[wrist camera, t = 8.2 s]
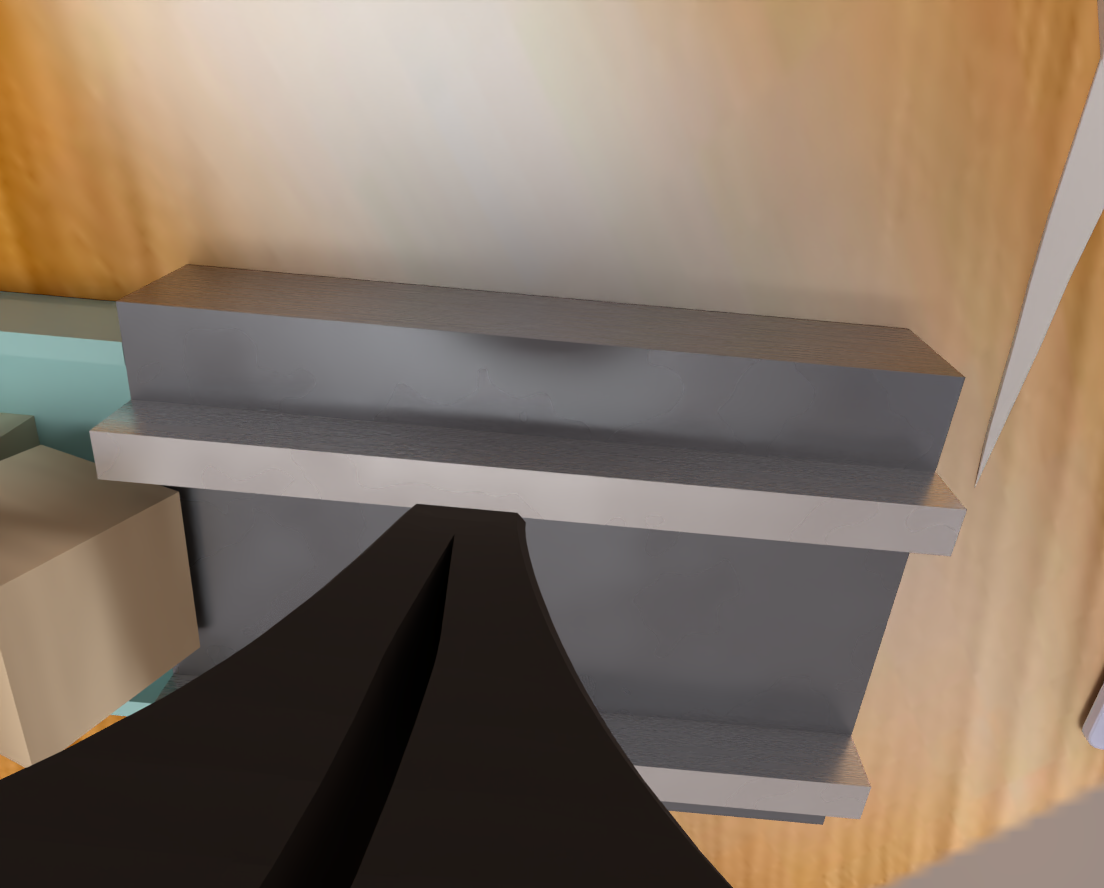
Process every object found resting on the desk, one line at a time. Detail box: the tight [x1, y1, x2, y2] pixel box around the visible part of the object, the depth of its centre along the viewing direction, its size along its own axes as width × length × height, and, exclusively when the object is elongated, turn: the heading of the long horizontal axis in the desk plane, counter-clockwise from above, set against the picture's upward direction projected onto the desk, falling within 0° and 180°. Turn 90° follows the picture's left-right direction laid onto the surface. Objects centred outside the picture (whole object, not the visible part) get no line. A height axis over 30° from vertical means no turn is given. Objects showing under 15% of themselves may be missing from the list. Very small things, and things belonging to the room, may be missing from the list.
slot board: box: [89, 265, 967, 825], centre depth 19 cm, size 16×12×4 cm
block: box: [0, 445, 200, 768], centre depth 17 cm, size 4×4×4 cm
